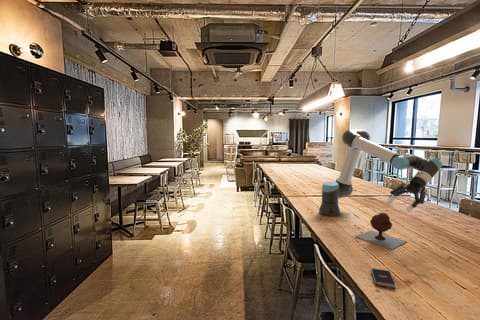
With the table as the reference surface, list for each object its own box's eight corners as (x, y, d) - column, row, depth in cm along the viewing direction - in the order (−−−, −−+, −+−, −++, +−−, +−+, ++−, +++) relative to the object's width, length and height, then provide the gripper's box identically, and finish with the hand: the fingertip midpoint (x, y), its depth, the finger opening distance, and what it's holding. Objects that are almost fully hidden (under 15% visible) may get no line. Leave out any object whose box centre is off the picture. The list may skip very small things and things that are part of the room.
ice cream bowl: (388, 235, 147) (390, 210, 146) (393, 243, 137) (394, 216, 135) (368, 233, 151) (369, 208, 149) (371, 240, 140) (372, 214, 139)
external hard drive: (374, 286, 99) (375, 281, 99) (371, 272, 110) (371, 267, 109) (395, 290, 97) (395, 285, 97) (389, 275, 107) (389, 270, 107)
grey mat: (355, 237, 147) (355, 236, 147) (370, 231, 156) (370, 230, 156) (391, 250, 130) (392, 248, 130) (406, 242, 140) (407, 241, 140)
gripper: (398, 172, 158) (376, 197, 156) (438, 180, 134) (413, 209, 132) (404, 180, 160) (383, 205, 158) (445, 189, 136) (420, 218, 134)
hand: (397, 207), depth 145 cm, fingers open, 13 cm apart
